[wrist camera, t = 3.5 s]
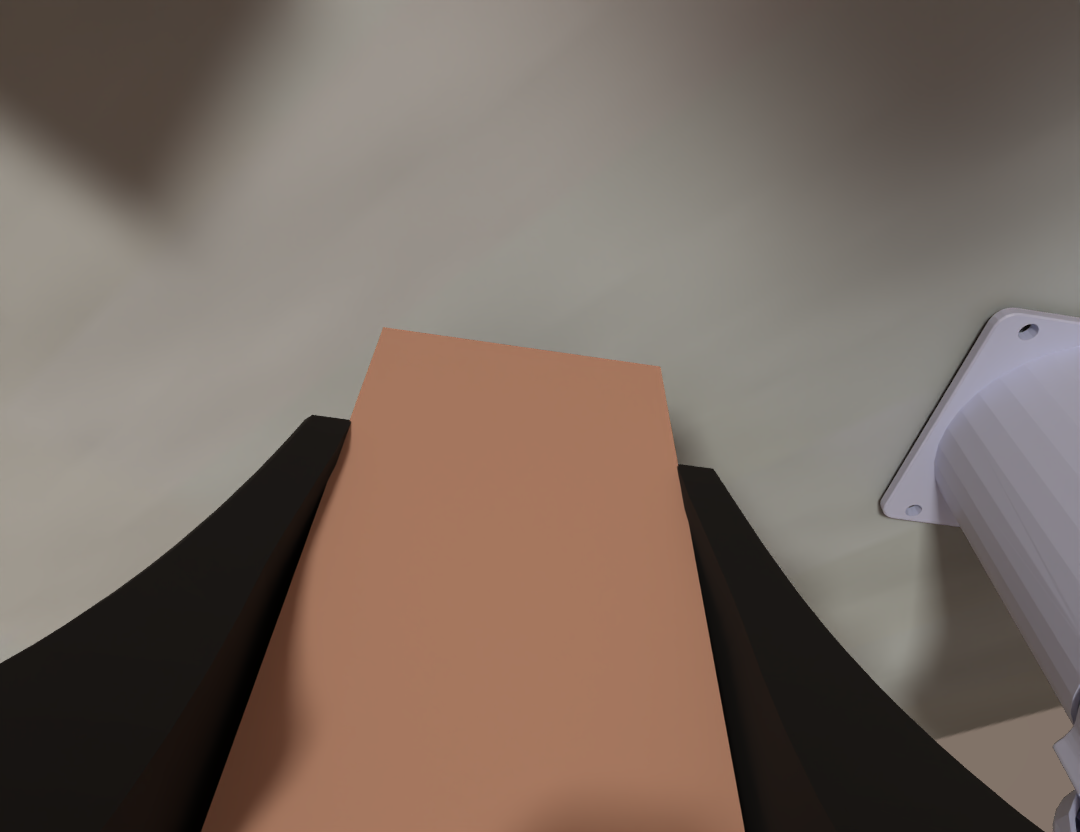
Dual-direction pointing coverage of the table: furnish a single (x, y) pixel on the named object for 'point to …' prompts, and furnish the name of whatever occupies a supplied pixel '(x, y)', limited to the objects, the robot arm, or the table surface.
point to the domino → (491, 615)
